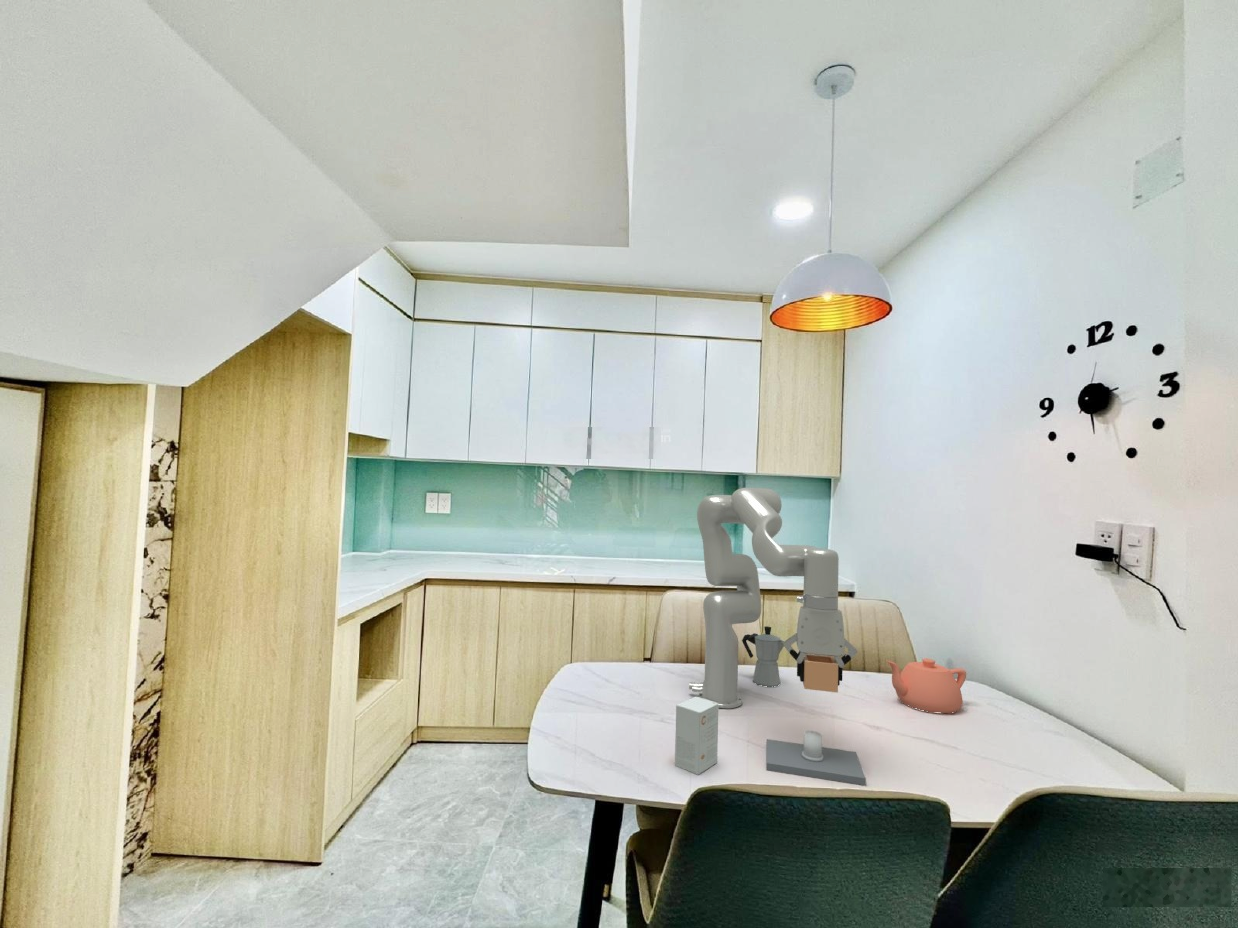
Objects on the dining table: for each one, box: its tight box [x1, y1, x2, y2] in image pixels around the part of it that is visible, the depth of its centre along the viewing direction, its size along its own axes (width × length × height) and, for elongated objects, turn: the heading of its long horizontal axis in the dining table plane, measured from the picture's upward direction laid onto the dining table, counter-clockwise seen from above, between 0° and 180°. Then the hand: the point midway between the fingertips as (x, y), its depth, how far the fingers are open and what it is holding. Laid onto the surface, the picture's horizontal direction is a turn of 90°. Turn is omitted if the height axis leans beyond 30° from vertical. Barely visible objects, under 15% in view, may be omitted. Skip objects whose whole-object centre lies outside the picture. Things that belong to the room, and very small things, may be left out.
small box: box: [674, 696, 720, 775], centre depth 124 cm, size 8×6×13 cm
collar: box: [802, 654, 839, 694], centre depth 128 cm, size 7×7×6 cm
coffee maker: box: [741, 626, 785, 688], centre depth 183 cm, size 15×9×18 cm, turn 58°
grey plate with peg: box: [765, 730, 867, 787], centre depth 126 cm, size 20×13×6 cm, turn 75°
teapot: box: [886, 658, 967, 714], centre depth 168 cm, size 25×17×13 cm
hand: (819, 681), depth 128 cm, fingers closed on collar, 7 cm apart
